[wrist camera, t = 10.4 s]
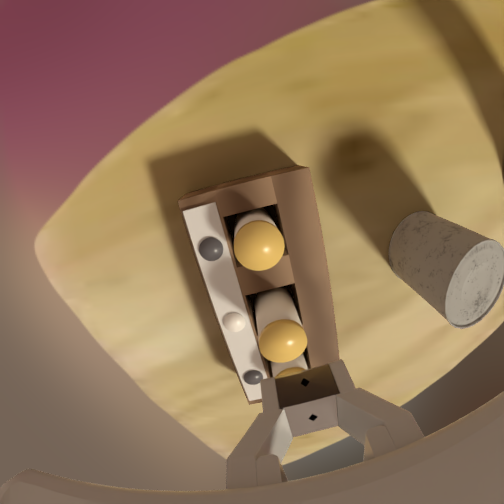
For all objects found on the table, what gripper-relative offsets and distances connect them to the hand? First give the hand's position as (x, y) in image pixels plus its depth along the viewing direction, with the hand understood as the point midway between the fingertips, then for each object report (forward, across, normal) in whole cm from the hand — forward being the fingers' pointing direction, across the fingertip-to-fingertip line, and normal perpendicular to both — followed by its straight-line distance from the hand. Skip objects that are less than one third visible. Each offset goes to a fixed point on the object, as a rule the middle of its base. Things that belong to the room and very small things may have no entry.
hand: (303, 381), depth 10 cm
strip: (+18, +5, +8) cm, 20 cm away
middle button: (+20, 0, +8) cm, 22 cm away
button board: (+23, 0, +8) cm, 24 cm away
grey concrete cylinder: (+24, -20, +8) cm, 32 cm away
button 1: (+23, +1, 0) cm, 23 cm away
